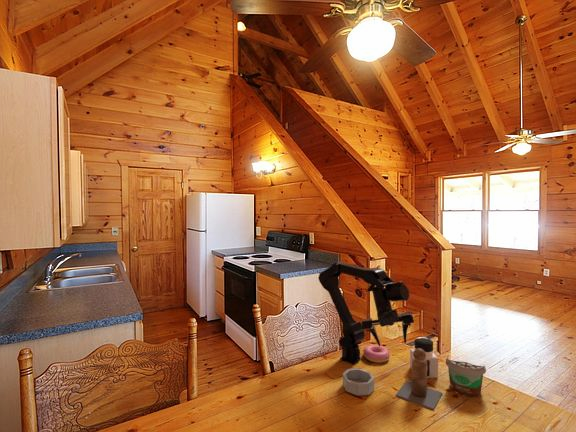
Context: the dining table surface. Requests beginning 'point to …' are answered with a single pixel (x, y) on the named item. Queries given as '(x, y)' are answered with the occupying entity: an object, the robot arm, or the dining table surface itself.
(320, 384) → the dining table surface
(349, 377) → the bowl
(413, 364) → the pepper mill
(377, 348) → the doughnut
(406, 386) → the mat
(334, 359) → the dining table surface
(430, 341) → the container
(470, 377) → the food container
